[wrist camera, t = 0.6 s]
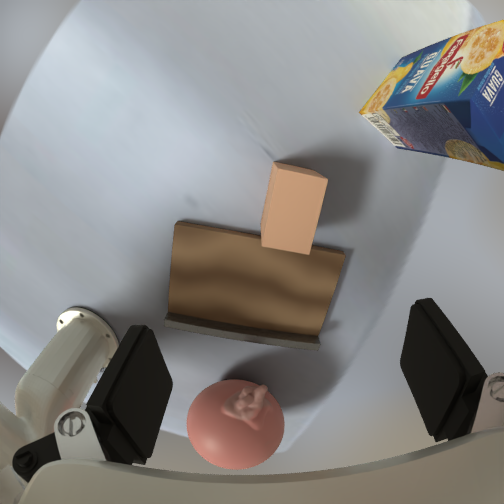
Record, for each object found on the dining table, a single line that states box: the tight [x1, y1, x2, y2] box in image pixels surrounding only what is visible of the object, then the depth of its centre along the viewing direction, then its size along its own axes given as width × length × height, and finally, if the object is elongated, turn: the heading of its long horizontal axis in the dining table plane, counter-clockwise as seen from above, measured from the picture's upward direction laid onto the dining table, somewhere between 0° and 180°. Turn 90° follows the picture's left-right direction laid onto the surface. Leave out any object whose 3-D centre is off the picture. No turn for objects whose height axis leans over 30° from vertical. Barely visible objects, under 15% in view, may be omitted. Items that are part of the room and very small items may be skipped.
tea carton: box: [261, 162, 328, 255], centre depth 33 cm, size 8×5×8 cm, turn 169°
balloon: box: [187, 379, 284, 469], centre depth 42 cm, size 15×20×15 cm
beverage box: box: [359, 20, 504, 171], centre depth 22 cm, size 7×11×22 cm, turn 144°
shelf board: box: [168, 221, 346, 336], centre depth 41 cm, size 13×22×2 cm, turn 79°
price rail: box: [164, 312, 321, 351], centre depth 42 cm, size 2×22×4 cm, turn 80°
